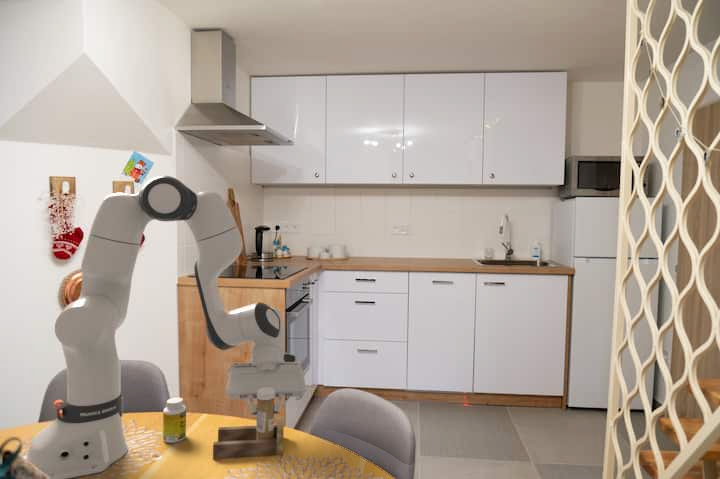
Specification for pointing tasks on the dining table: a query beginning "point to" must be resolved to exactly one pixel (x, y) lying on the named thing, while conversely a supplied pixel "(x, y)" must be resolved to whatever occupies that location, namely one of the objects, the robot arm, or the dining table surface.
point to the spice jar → (265, 413)
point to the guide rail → (247, 442)
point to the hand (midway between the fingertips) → (265, 413)
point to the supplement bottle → (174, 421)
